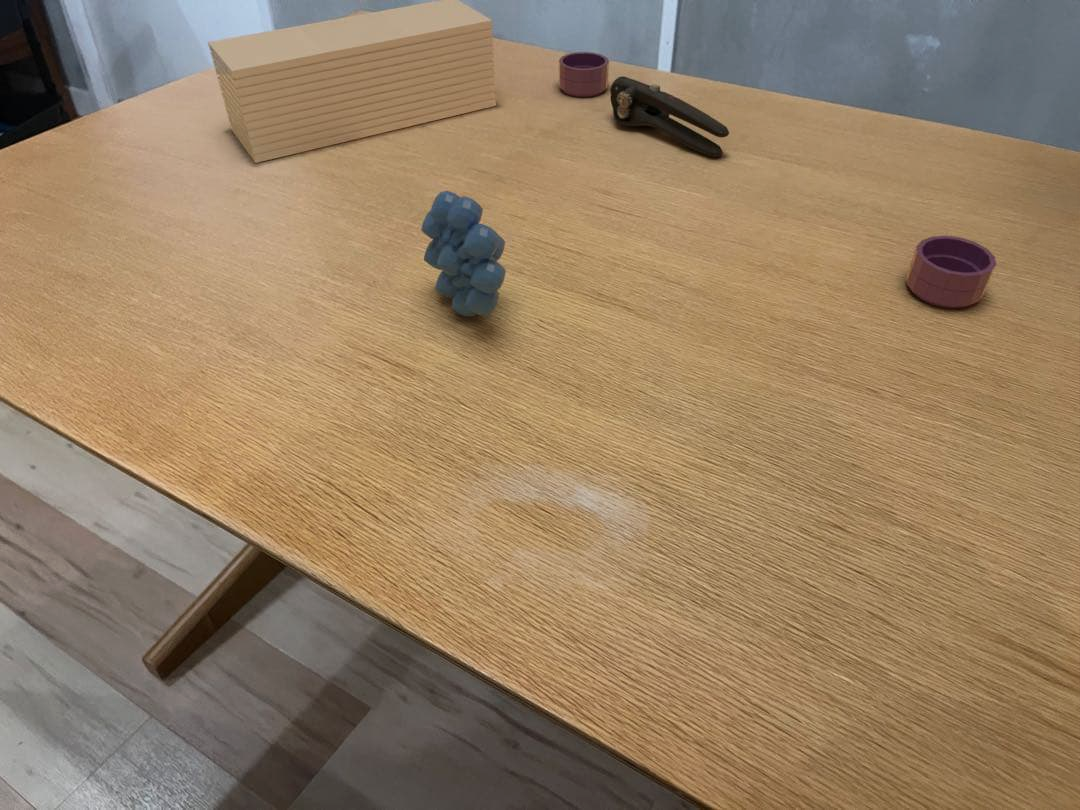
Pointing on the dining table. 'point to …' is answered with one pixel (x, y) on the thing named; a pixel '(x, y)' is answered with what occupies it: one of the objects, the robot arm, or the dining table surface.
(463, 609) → the dining table surface
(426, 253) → the grapes
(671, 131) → the can opener
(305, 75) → the tan ribbed wooden block
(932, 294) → the plum dish
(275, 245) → the dining table surface
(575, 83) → the plum dish
